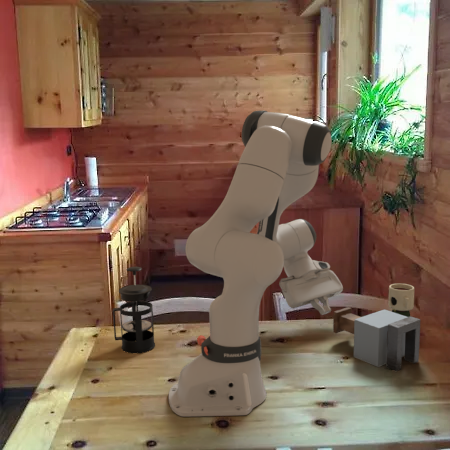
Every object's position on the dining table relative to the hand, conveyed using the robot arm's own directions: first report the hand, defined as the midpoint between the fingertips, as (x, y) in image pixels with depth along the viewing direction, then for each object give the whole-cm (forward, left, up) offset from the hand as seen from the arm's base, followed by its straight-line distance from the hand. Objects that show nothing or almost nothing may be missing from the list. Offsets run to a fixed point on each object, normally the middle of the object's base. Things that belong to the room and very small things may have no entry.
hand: (326, 313), depth 168 cm
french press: (-55, +4, -7) cm, 55 cm away
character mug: (+22, -2, -7) cm, 23 cm away
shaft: (+6, -13, -3) cm, 15 cm away
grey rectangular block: (+8, -18, -6) cm, 21 cm away
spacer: (+11, -24, -6) cm, 27 cm away
